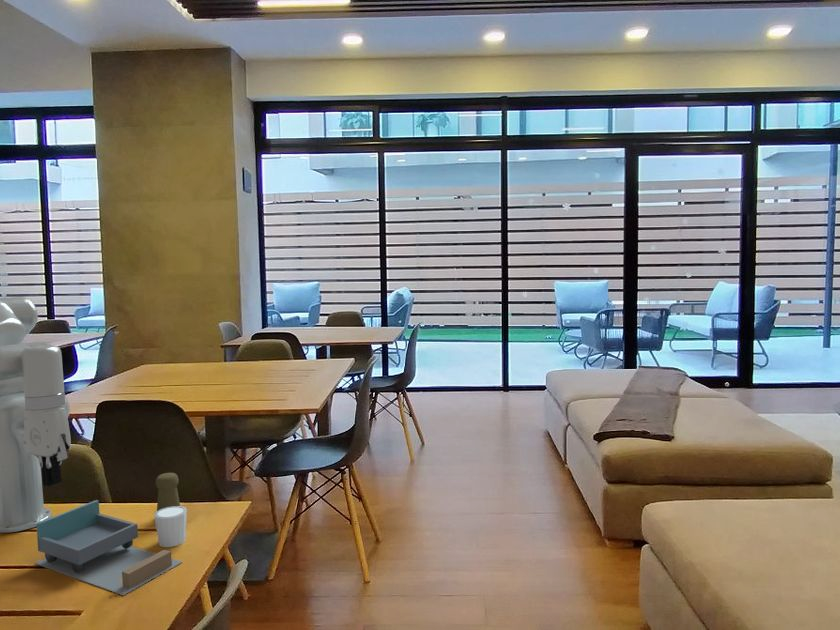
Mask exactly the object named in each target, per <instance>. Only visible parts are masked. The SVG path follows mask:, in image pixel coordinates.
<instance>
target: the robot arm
mask: <svg viewBox="0 0 840 630" xmlns="http://www.w3.org/2000/svg"><path fill="white" fill-rule="evenodd" d="M38 316H39V315H38V310H37V307H36V305H35V304H34V302H33V301H32V300H30V299H29V298H26V297H24V296H16V297H14V296H13V297H11V296H10V297H0V533H3V534H5V533H8V534H9V533H17V532H21V531H26V530H30V529H33V528H37V527H36V523H39V522H41V521H44V520H46V519H49V518H51V517H53V515H52V509H50V508H48V507H44V494H43V486H46V487H50V486H53V485H57V484H59V483H61V482H62V471H61V465H62V463H63V461H64V460H68V452H69V451H70V450H71V446H72V445H71V443H72V442H71V441H72V440H71V431H70V425H69V424H70V423H69V419H68V418H69V417H70V411H71V410H70V403H69V401H68V398H67V396H66V393H65V382H64V370H63V355H62V350H61V348H60V347H59V346H57V345H55V344H53V345H52V344H51V343H50V342H46V341H37V342H24V343H22V342H23V341H24V340H25V337H26V336H28V335H29V334H30V332H31V331H32V330H33V329H34V328H35V326H36V325H37V323H38Z"/></svg>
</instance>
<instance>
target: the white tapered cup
mask: <svg viewBox="0 0 840 630" xmlns="http://www.w3.org/2000/svg"><path fill="white" fill-rule="evenodd" d="M187 513H188V511H187V507H185V506H182V505H180V506H172V507H166V508H163V509H160V510H158V511H157V510H156V512H154V514H153V515H154V523H155V527H156V533H157V534H156V535H157V541H158V545H159V546H160V547H161V546H162V548H173V546H174V547H178V546H180V545H182V544H183V543H185V542H186V538H187V537H186V536H187V518H188V517H187Z"/></svg>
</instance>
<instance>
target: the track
mask: <svg viewBox="0 0 840 630" xmlns="http://www.w3.org/2000/svg"><path fill="white" fill-rule="evenodd" d="M34 564H35V565H38V566H40V567H43V568H45V569H49V570H51V571H55V572H57V573H60V574H62V575H65V576H68V577H70V578H73V579H76V580H78V581H82V582H84V583H87V584H89V585H91V586H92V585H93V586H95V587H98V588H101V589H103V590H106V591H108V590H109V592H111V591H112V593H114V592H115V594H117V593H118V594H117V595H119V594H120V596H122V595H123V597H124V596H126V595H127V593H128V594H129V593H131V592H133V591H135V590H137V589H139V588H140V587H142V586H143V584H144V583H146V582H147V583H149V582H151V581H152V580H151V579H153V578H154V579H156V578H158V577H160V576H161V575H160V574H162V573H163V574H165V573H167V572H168V571H167V570H169V569H170V570H172V569H174V568H176V567H177V565H178V566H180V565H182V564H183V561H180V560H178V559H175V558H173V557H172V551H170V550H167V549H163V550H160V551H159V552H157V553H154V552H151V551H148V550H144V549H142V548H137V547H135V546H133V545H132V546H131V547H129V548H127V549H125V548H123V547H122V545H121V546H118V547H116V548H114V549H112V550H110V551H108V552H106V553H104V554H102V555H100V556H97V557H95V558H93V559H91V560H89V561H87V562H85V563H84V565H85V567H84V569H83V570H82V571H80V572H78V573H77V572H75V571H74V570H73V568H72V562H69V561H66V560H63V559H60V558H57V560H56V561H53V562H51V563H49V562H47V560H46V558H43V559H40V560H38V561H37V562H34ZM175 566H176V567H175ZM173 567H174V568H173ZM171 568H172V569H171ZM170 570H169V571H170ZM166 571H167V572H166ZM164 572H165V573H164ZM163 574H162V575H163ZM159 575H160V576H159ZM157 576H158V577H157ZM121 578H122V580H120V579H121ZM154 579H153V580H154ZM150 580H151V581H150ZM121 581H122V582H121ZM148 581H149V582H148ZM119 582H121V583H119ZM147 583H146V584H147ZM144 585H145V584H144ZM139 586H140V587H139ZM136 588H137V589H136ZM132 590H133V591H132Z"/></svg>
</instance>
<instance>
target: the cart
mask: <svg viewBox="0 0 840 630" xmlns="http://www.w3.org/2000/svg"><path fill="white" fill-rule="evenodd" d="M35 528H36V540H37V550H38V552H41V553H44V557H45V558H46V560H47V562H49V563H51V562H53V561H56V560H57V558H60V559H63V560H66V561H69V562H72V568H73V570H74V571H75V572H77V573H78V572H80V571H82V570H83V569H84V567H85V565H84V563H85V562H87V561H89V560H91V559H93V558H95V557H97V556H100V555H102V554H104V553H106V552H108V551H110V550H112V549H114V548H116V547H118V546H121V545H122V547H123V548H125V549H127V548H129V547H131V546H132V547H133V540H135V539H137V538H139V531H138V530H139V529H138V523H135V522H132V521H128V520H125V519H122V518H121V519H120V518H118V517H113V516H110V515H108V514H104V513H100V502H99V500H98V499H96V500H93V501H90V502H88V503H85V504H83V505H80V506H77V507H75V508H73V509H70V510H67V511H64V512H62V513H59V514H57V515H54V516H51V518H49V519H46V520H44V521H41V522H39V523H36V527H35ZM45 558H44V559H45Z"/></svg>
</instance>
